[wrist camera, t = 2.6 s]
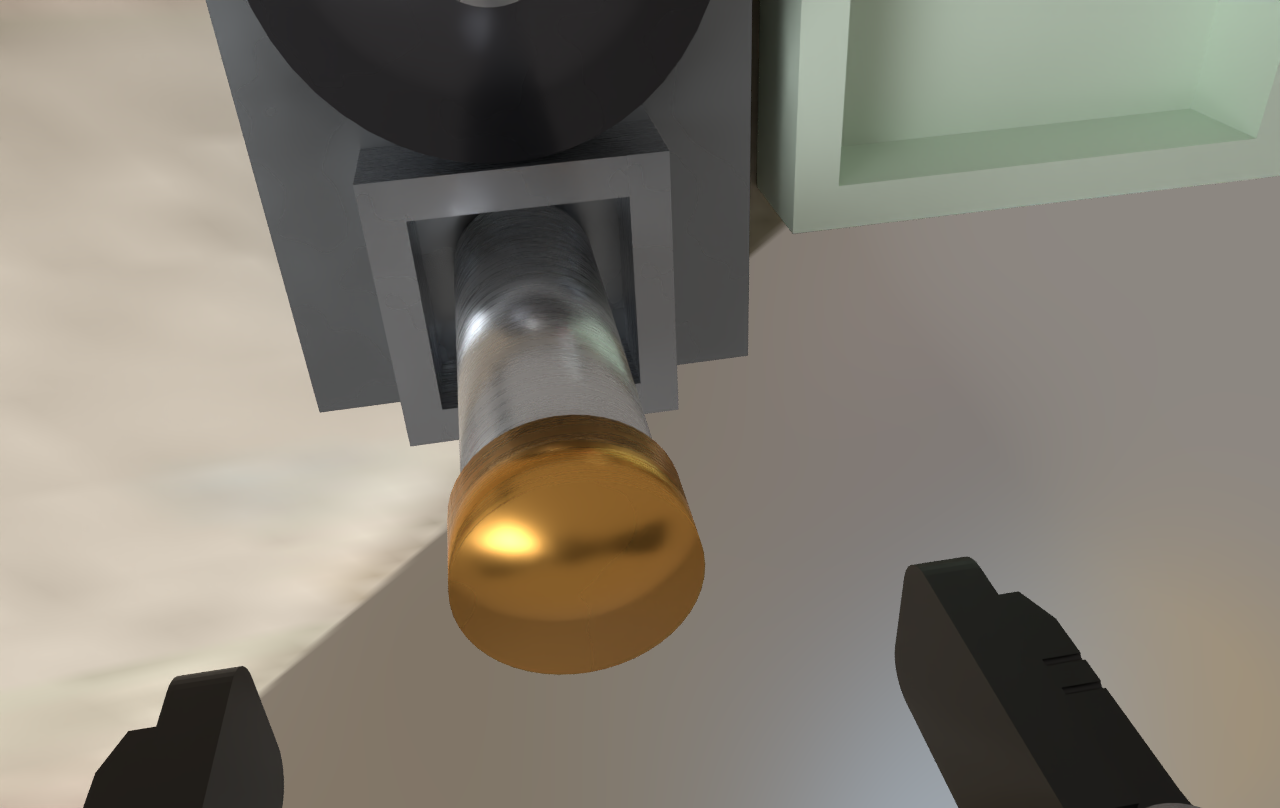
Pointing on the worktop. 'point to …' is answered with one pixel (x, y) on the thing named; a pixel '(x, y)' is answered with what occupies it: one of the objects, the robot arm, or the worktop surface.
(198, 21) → the worktop surface
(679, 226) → the tensioner block
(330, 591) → the worktop surface
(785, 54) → the tray
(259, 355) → the worktop surface
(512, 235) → the pin
